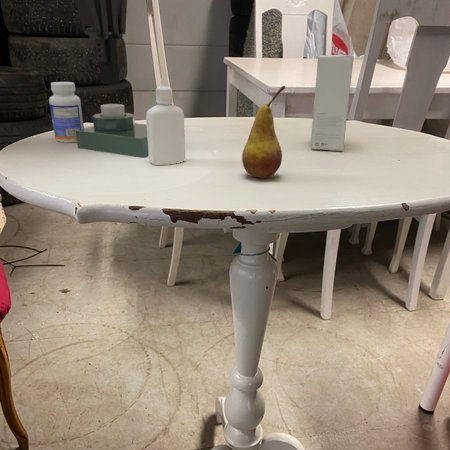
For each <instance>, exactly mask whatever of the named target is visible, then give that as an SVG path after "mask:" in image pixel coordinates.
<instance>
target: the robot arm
mask: <svg viewBox="0 0 450 450" xmlns="http://www.w3.org/2000/svg"><path fill="white" fill-rule="evenodd" d="M75 3H76V8H77V11H78V15H79V19H80V22H81V23H80V24H81V27H82V31H83V33H84V34H85V35H88V38H89V39H90V40H94V44H95V52H96V53H95V54H96V59H97V62H98V65H99V66H98V67H99V74H100V82H101V84H102V85H120V83H121V82H120V73H119V71H120V70H119V59H120V57H119V47H118V40H122V39H123V37H124V35H126V32H127V13H128V12H127V11H128V0H75Z"/></svg>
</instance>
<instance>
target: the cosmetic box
mask: <svg viewBox="0 0 450 450" xmlns="http://www.w3.org/2000/svg"><path fill="white" fill-rule="evenodd" d="M354 58H355V56H354V55H351V54H350V55H349V54H322V55H321V54H320V55H318V56H317V66H316V78H315V89H314V100H313V111H312V124H311V141H310V142H311V143H310V149H311V150H325V151H334V152H343V151H344V150H345V139H346V130H347V121H348V113H349V112H348V111H349V110H348V109H349V104H350V103H349V102H350V93H351V86H352V85H351V84H352V74H353V66H354Z"/></svg>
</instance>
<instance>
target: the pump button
mask: <svg viewBox="0 0 450 450" xmlns="http://www.w3.org/2000/svg"><path fill="white" fill-rule="evenodd" d="M100 113H101V114H102V117H107V118H116V117H124V116H125V113H126V110H125V105H124V104H121V103H105V104H101V105H100Z"/></svg>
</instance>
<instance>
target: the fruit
mask: <svg viewBox="0 0 450 450" xmlns="http://www.w3.org/2000/svg"><path fill="white" fill-rule="evenodd" d="M285 89H286V86H285V85H282V86H281V87H280V88H279V89H278V91H277V92H276V93H275V94H274V96H273V97H272V98H271V99H270V100H269V102H268V103H264V104H263V105H261V106H260V107H259V109H258V110H257V112H256V115H255V117H254V120H253V123H252V126H251V129H250V132H249V134H248V135H249V136H248V138H247V141H246V143H245V145H244V147H243V150H242V154H241V160H242V161H241V162H242V166H243V169H244V170H245V172H246V173H247V174H248V175H250V176H251V177H254V178H260V179H268V178H270V177H272V176H273V175H275V173H277V172H278V170H279V168H280V167H281V164H282V160H283V151H282V148H281V144H280V142H279V140H278V137H277V134H276V131H275V123H274V115H273V111H272V108H271V104H272V103H273V102H274V100H275V99H276V98H277V97H278V95H280V94H281V92H283V91H284V90H285Z"/></svg>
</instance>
